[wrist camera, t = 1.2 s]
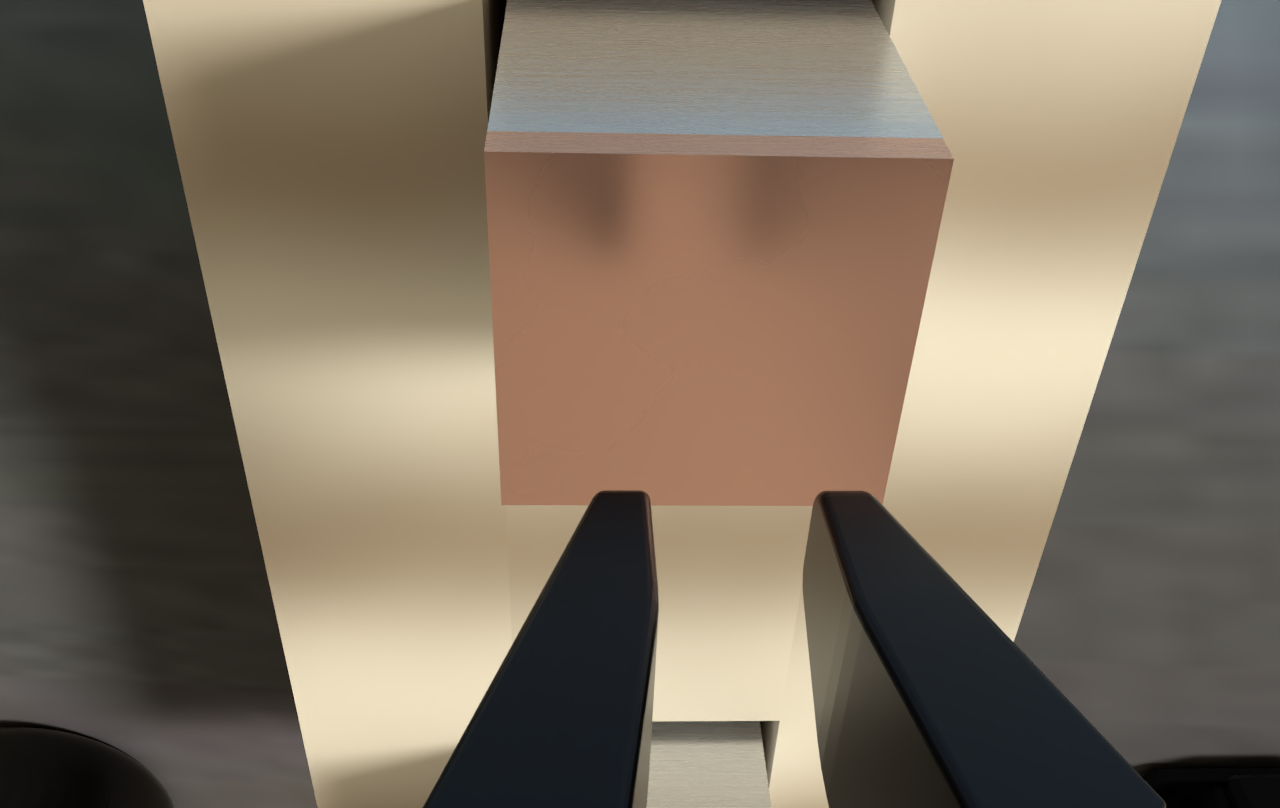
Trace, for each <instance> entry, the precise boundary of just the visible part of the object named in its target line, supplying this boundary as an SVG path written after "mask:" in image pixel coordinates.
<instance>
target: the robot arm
mask: <svg viewBox="0 0 1280 808" xmlns="http://www.w3.org/2000/svg"><path fill="white" fill-rule="evenodd" d="M802 584H803V601H804V611H805V621H806V631H807V641H808V651H809V661H810V671H811V681H812V691H813V701H814V711H815V721H816V731H817V741H818V748H819V756H820V764H821V771H822V776H823V781H824V786H825V791H826V797H827V801H828V806H829V808H1280V768H1197V769H1159V770H1155V771H1152V772H1150V773H1148V774H1147V775H1145V776H1144V777H1143V778H1142V777H1141V776H1140V775H1139V774H1138V773H1137V772H1136V771H1135V769H1134V768H1133V767H1132V766H1131V765H1130V764H1129V763H1128V762H1127V761H1126V760H1125V759H1124V758H1123V757H1122V756H1121V755H1120V754H1119V753H1118V752H1117V751H1116V750H1115V748H1114V747H1113V746H1112V745H1111V744H1110V743H1109V742H1108V741H1107V740H1106V739H1105V738H1104V737H1103V736H1102V735H1101V734H1100V733H1099V732H1098V731H1097V730H1096V729H1095V727H1094V726H1093V725H1092V724H1091V723H1090V722H1089V721H1088V720H1087V719H1086V718H1085V717H1084V716H1083V715H1082V714H1081V713H1080V712H1079V711H1078V710H1077V709H1076V707H1075V706H1074V705H1073V704H1072V703H1071V702H1070V701H1069V700H1068V699H1067V698H1066V697H1065V696H1064V695H1063V694H1062V693H1061V692H1060V691H1059V690H1058V689H1057V688H1056V686H1055V685H1054V684H1053V683H1052V682H1051V681H1050V680H1049V679H1048V678H1047V677H1046V676H1045V675H1044V674H1043V673H1042V672H1041V671H1040V670H1039V669H1038V668H1037V666H1036V665H1035V664H1034V663H1033V662H1032V661H1031V660H1030V659H1029V658H1028V657H1027V656H1026V655H1025V654H1024V653H1023V652H1022V651H1021V650H1020V649H1019V648H1018V647H1017V645H1016V644H1015V643H1014V642H1013V641H1012V640H1011V639H1010V638H1009V637H1008V636H1007V635H1006V634H1005V633H1004V632H1003V631H1002V630H1001V629H1000V628H999V627H998V625H997V624H996V623H995V622H994V621H993V620H992V619H991V618H990V617H989V616H988V615H987V614H986V613H985V612H984V611H983V610H982V609H981V608H980V607H979V606H978V604H977V603H976V602H975V601H974V600H973V599H972V598H971V597H970V596H969V595H968V594H967V593H966V592H965V591H964V590H963V589H962V588H961V587H960V586H959V584H958V583H957V582H956V581H955V580H954V579H953V578H952V577H951V576H950V575H949V574H948V573H947V572H946V571H945V570H944V569H943V568H942V567H941V566H940V565H939V563H938V562H937V561H936V560H935V559H934V558H933V557H932V556H931V555H930V554H929V553H928V552H927V551H926V550H925V549H924V548H923V547H922V546H921V545H920V544H919V542H918V541H917V540H916V539H915V538H914V537H913V536H912V535H911V534H910V533H909V532H908V531H907V530H906V529H905V528H904V527H903V526H902V525H901V524H900V522H899V521H898V520H897V519H896V518H895V517H894V516H893V515H892V514H891V513H890V512H889V511H888V510H887V509H886V508H885V507H884V506H883V505H882V504H881V503H880V501H879V500H878V499H877V498H876V497H875V496H873V495H872V494H870V493H868V492H866V491H822V492H821V493H819V494H818V495H817V496H816V498H815V500H814V503H813V507H812V514H811V520H810V526H809V533H808V539H807V545H806V552H805V558H804V565H803V583H802ZM658 614H659V596H658V580H657V569H656V557H655V546H654V535H653V523H652V512H651V502H650V497H649V495H648V494H647V493H646V492H644V491H641V490H603V491H600V492H598V493H597V494H596V495H595V496H594V497H593V498H592V500H591V502H590V504H589V505H588V507H587V509H586V511H585V513H584V515H583V516H582V518H581V520H580V522H579V524H578V525H577V527H576V529H575V531H574V533H573V535H572V536H571V538H570V540H569V542H568V544H567V546H566V547H565V549H564V551H563V553H562V555H561V556H560V558H559V560H558V562H557V564H556V566H555V567H554V569H553V571H552V573H551V575H550V576H549V578H548V580H547V582H546V584H545V586H544V587H543V589H542V591H541V593H540V595H539V597H538V598H537V600H536V602H535V604H534V606H533V607H532V609H531V611H530V613H529V615H528V617H527V618H526V620H525V622H524V624H523V626H522V627H521V629H520V631H519V633H518V635H517V637H516V638H515V640H514V642H513V644H512V646H511V647H510V649H509V651H508V653H507V655H506V657H505V658H504V660H503V662H502V664H501V666H500V668H499V669H498V671H497V673H496V675H495V677H494V678H493V680H492V682H491V684H490V686H489V688H488V689H487V691H486V693H485V695H484V697H483V698H482V700H481V702H480V704H479V706H478V708H477V709H476V711H475V713H474V715H473V717H472V719H471V720H470V722H469V724H468V726H467V728H466V729H465V731H464V733H463V735H462V737H461V739H460V740H459V742H458V744H457V746H456V748H455V749H454V751H453V753H452V755H451V757H450V759H449V760H448V762H447V764H446V766H445V768H444V770H443V771H442V773H441V775H440V777H439V779H438V780H437V782H436V784H435V786H434V788H433V790H432V791H431V793H430V795H429V797H428V799H427V800H426V802H425V804H424V806H423V808H646V807H647V796H648V782H649V767H650V750H651V733H652V716H653V699H654V682H655V665H656V648H657V631H658Z"/></svg>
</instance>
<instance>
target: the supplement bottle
mask: <svg viewBox="0 0 1280 808" xmlns="http://www.w3.org/2000/svg"><path fill="white" fill-rule="evenodd" d="M0 808H174V807H173V804H172V801H171V799H170V797H169V795H168V793H167V792H166V790H165V788H164V787H163V786H162V784H161V783H160V782H159V781H158V780H157V778H156V777H155V776H154V775H153V774H152V773H151V772H150V771H149V770H147V769H146V768H145V767H144V766H143V765H141V764H140V763H139V762H137V761H136V760H134V759H133V758H131V757H130V756H128V755H126V754H125V753H123V752H121V751H119V750H117V749H115V748H113V747H111V746H109V745H106V744H104V743H101V742H99V741H96V740H93V739H90V738H87V737H84V736H80V735H76V734H73V733H68V732H63V731H59V730H52V729H45V728H35V727H1V728H0Z"/></svg>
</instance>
